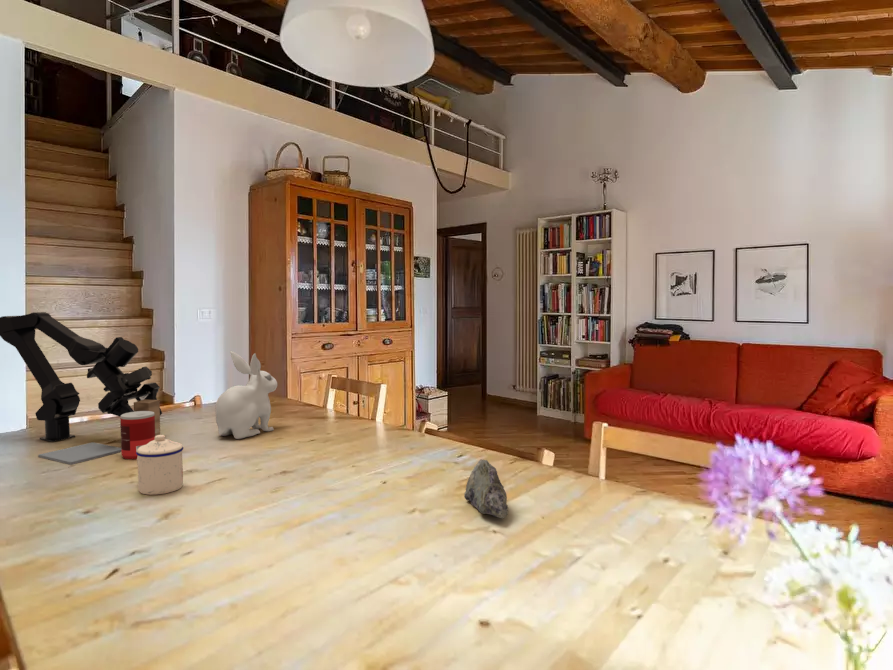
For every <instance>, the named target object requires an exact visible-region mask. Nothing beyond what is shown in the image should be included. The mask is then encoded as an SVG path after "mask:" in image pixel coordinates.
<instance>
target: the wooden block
mask: <svg viewBox="0 0 893 670" xmlns="http://www.w3.org/2000/svg"><path fill="white" fill-rule="evenodd" d="M160 402H161V401H160V399H157V400H146V399H145V400H141V401H137V400H136V401H134V402H133V411H134V412H136V411H152V412H154V414H155V436H157V435H161V415H160V409H161V406H160Z"/></svg>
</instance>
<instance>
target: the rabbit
mask: <svg viewBox="0 0 893 670" xmlns="http://www.w3.org/2000/svg"><path fill="white" fill-rule="evenodd" d="M229 353H230V356H231V361H232V363H233V366H234V367H235V369H236V370H237V372H239V373H241V374H243V375H249V376H250V377H249V380H248V381H247V383H246V385H235V386H234V385H233V386H231V387H229V388H228V389H226V390H225V391H224V392H222V393H221V394H220V395H219V396H218V398H217V400H216V403H215V423H216V426H217V431H218V435H219V436H224V437H225V436H230V435H233V438H234V439H236V440H241V439H245V438H249V437H253V436H256V435H257V434H258V435H259V434H261V431H260V430H259V429H261V430H262V431H263V432H272V431H273V432H274V430H275V429H274V427H273V426H269V421H270V417H271V414H272V413H271V412H272V405H271V401H270V397H269V393H270V394H271V393H273V392H274V391H276V389H277V387H278V381H277V379H276V378H275V377H274V376H272V375H271V373H270V372H267V371H266V370H261V367H262V364H261V362H260V359H258V357H257V353H256V352H255V353H253V355H252V356H251V360H250V362H249V363H250V364H249V363H248V362H247V361H246V360H245V358H243V357H242V356H241V355H239V354H238V353H237V352H235V351H232V350H230V351H229ZM259 419H260V420H259ZM259 421H260V424H259Z"/></svg>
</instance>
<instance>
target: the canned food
mask: <svg viewBox="0 0 893 670" xmlns="http://www.w3.org/2000/svg"><path fill="white" fill-rule="evenodd" d="M119 420H120V421H119V422H120V424H119V425H120V448H121V452H120V454H121V457H122V458H123V459H125V460H137V456H138V455H137V454H136V452H137V449H138V448H139V447H141V446H143V445H146V444H148V443H149V442H151V441H153V440H155V414H154V412H152V411H136V412H129V413H125V414H122V415H121V417H120V419H119Z"/></svg>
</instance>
